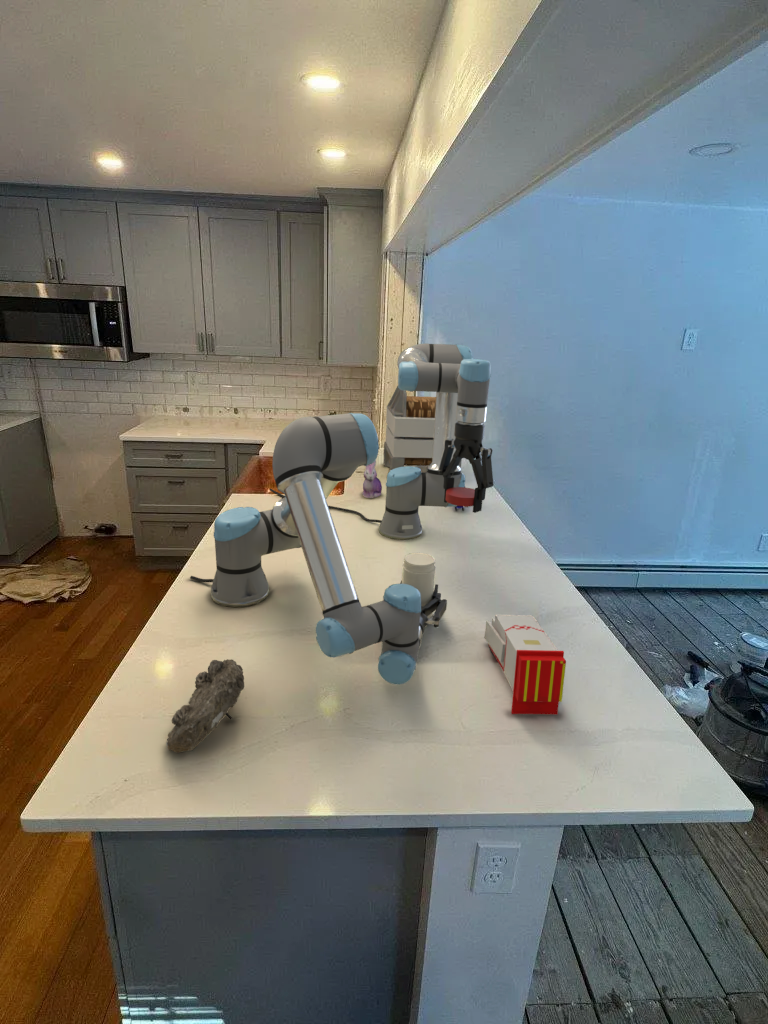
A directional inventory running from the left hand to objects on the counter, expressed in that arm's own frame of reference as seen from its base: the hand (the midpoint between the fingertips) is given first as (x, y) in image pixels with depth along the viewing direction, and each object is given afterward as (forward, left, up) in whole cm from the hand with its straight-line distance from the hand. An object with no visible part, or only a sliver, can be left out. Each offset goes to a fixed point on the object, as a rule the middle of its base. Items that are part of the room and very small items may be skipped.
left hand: (419, 586), depth 149 cm
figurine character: (+5, +86, -6) cm, 87 cm away
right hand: (+9, +11, +20) cm, 24 cm away
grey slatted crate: (-17, +131, -6) cm, 132 cm away
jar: (0, -5, -6) cm, 8 cm away
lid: (+9, +11, +23) cm, 27 cm away
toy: (+25, -23, -6) cm, 35 cm away
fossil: (-33, -52, -6) cm, 62 cm away
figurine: (-32, +90, -6) cm, 96 cm away
